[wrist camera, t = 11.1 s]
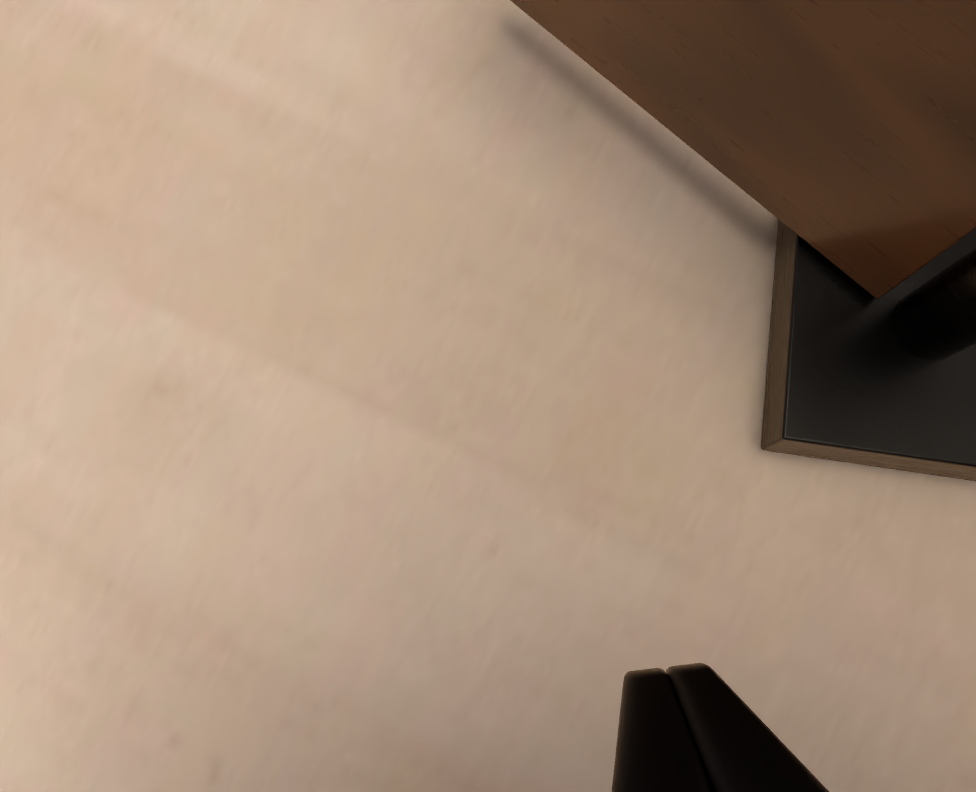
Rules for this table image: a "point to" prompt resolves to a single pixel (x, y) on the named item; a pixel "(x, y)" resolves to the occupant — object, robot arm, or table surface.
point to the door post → (873, 363)
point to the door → (809, 110)
